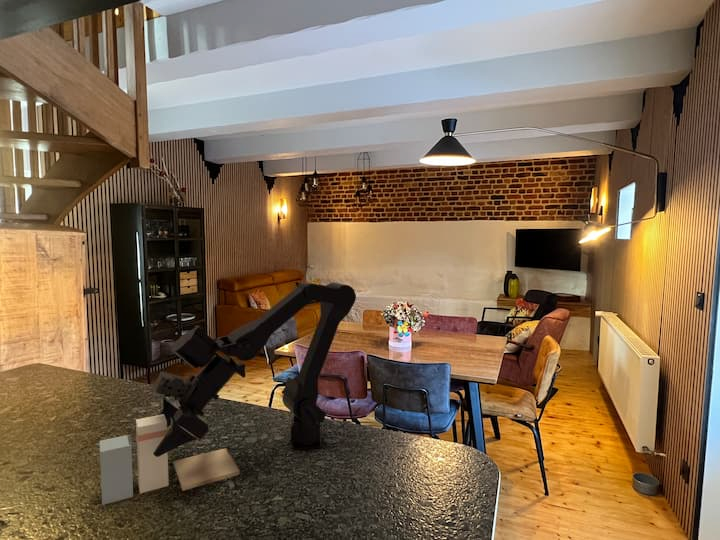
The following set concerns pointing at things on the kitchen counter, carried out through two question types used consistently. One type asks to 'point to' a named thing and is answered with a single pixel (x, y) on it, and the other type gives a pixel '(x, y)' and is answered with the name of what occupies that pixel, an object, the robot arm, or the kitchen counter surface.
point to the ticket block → (116, 469)
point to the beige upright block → (151, 453)
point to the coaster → (205, 468)
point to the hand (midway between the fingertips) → (152, 445)
